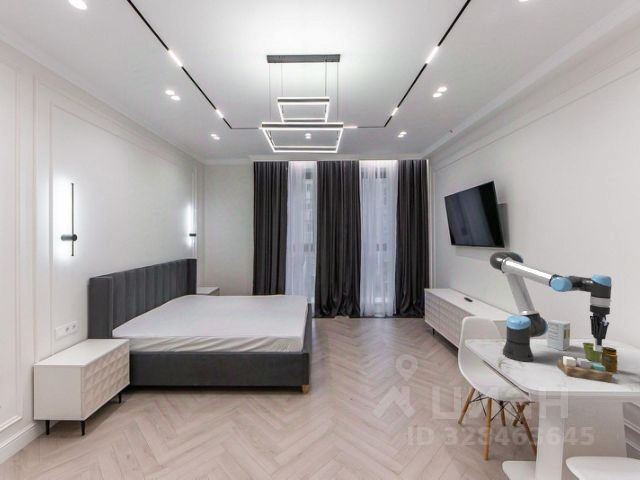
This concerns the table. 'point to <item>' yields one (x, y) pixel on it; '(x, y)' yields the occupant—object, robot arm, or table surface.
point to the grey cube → (583, 363)
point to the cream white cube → (569, 361)
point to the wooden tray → (585, 372)
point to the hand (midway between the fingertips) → (597, 350)
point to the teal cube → (598, 367)
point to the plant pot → (591, 352)
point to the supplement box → (558, 334)
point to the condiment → (609, 360)
